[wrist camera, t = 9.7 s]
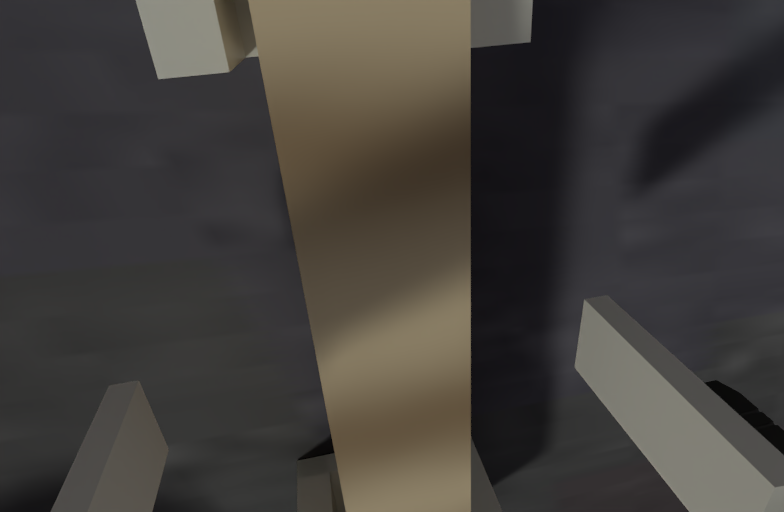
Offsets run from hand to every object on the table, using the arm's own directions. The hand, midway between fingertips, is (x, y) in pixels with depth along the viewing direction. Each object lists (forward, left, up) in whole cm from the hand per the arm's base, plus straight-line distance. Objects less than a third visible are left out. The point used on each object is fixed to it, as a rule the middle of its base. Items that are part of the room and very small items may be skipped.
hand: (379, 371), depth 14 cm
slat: (+1, 0, -5) cm, 5 cm away
